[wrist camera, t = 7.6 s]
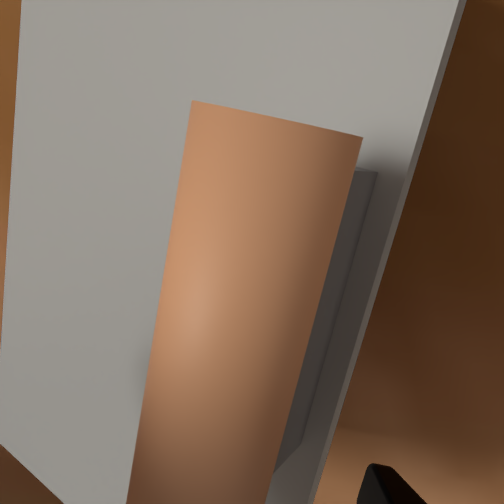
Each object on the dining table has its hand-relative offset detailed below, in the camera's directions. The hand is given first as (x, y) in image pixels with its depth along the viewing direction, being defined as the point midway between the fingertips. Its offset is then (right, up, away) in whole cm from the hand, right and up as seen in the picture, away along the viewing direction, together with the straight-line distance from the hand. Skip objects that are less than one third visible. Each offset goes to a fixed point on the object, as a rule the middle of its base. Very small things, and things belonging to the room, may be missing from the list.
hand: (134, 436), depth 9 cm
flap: (0, +4, +4) cm, 5 cm away
